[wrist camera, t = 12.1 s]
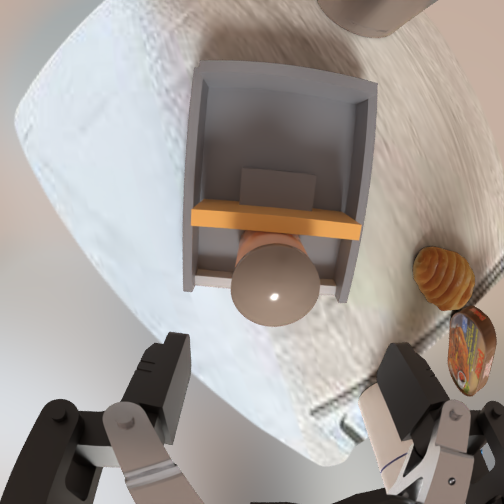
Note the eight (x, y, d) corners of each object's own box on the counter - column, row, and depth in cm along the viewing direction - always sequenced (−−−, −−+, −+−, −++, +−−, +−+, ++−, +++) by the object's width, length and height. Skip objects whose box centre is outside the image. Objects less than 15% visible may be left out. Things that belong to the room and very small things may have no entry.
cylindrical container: (379, 374, 32) (442, 532, 8) (410, 382, 32) (473, 515, 9) (348, 407, 34) (387, 555, 10) (381, 412, 35) (425, 540, 11)
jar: (239, 214, 24) (232, 244, 17) (305, 219, 24) (327, 251, 17) (236, 274, 26) (228, 323, 19) (296, 278, 26) (311, 328, 19)
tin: (449, 302, 28) (486, 337, 20) (466, 292, 28) (504, 324, 20) (445, 373, 32) (468, 408, 25) (459, 364, 32) (483, 397, 24)
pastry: (396, 281, 27) (412, 297, 24) (427, 228, 25) (446, 238, 22) (442, 308, 28) (457, 323, 25) (468, 263, 26) (486, 274, 23)
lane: (201, 78, 21) (189, 60, 16) (363, 97, 21) (386, 86, 16) (190, 276, 27) (178, 301, 22) (337, 287, 27) (352, 313, 22)
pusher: (206, 165, 23) (193, 166, 18) (346, 179, 23) (368, 185, 18) (203, 212, 24) (190, 225, 19) (340, 224, 24) (358, 240, 20)
